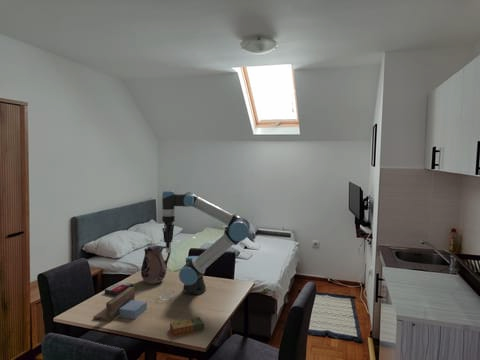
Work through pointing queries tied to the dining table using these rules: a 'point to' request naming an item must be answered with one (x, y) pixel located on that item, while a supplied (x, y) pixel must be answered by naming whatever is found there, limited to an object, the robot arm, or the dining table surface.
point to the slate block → (133, 309)
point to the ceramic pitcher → (154, 265)
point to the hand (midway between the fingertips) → (168, 252)
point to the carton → (186, 326)
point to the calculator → (117, 288)
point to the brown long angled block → (115, 305)
